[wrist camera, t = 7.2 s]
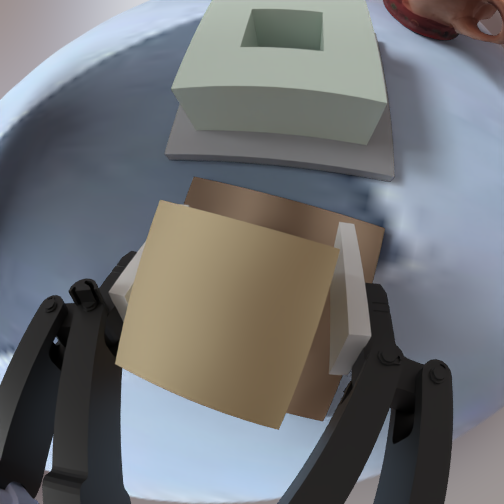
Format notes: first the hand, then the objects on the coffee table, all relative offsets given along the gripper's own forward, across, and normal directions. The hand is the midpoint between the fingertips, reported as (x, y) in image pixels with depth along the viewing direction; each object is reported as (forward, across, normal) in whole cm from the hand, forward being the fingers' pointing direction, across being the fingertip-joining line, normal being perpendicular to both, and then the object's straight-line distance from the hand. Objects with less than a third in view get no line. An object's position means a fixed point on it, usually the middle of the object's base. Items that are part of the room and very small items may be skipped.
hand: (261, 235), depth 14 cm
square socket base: (+12, 0, +7) cm, 14 cm away
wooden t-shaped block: (0, 0, -5) cm, 5 cm away
